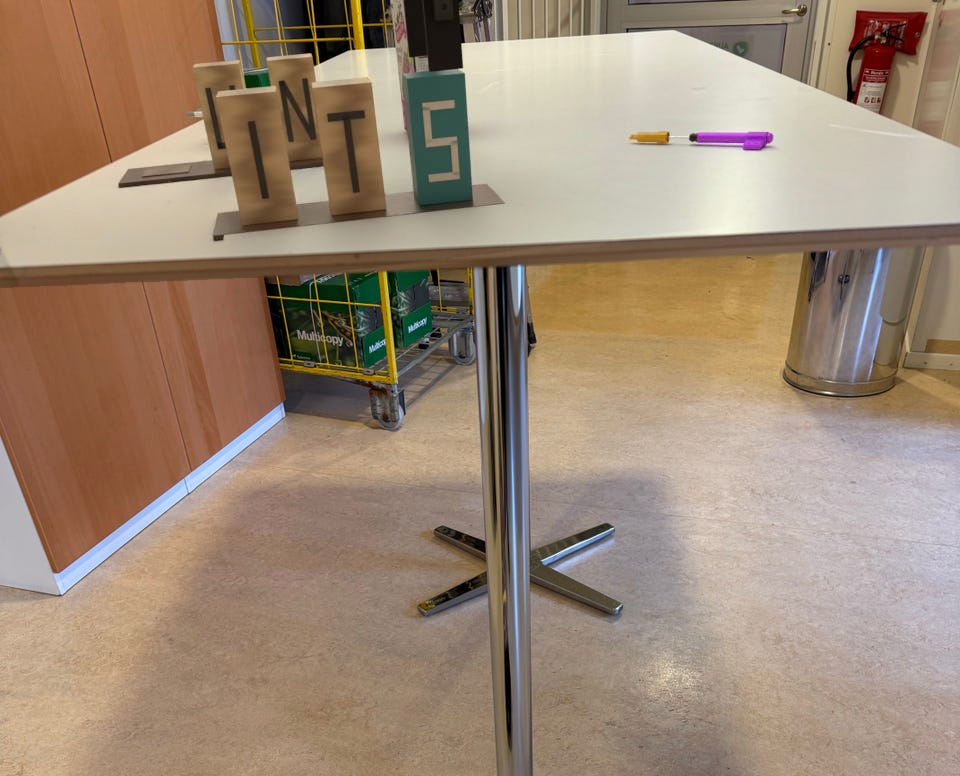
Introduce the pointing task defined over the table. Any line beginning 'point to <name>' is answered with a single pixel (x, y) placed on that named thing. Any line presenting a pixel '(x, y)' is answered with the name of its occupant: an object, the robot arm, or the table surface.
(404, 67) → the candy bar box
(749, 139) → the marker pen
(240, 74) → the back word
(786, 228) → the table surface
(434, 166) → the teal rectangular slab
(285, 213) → the front word
